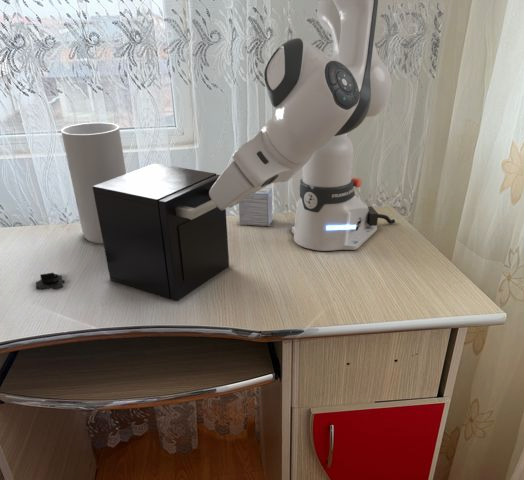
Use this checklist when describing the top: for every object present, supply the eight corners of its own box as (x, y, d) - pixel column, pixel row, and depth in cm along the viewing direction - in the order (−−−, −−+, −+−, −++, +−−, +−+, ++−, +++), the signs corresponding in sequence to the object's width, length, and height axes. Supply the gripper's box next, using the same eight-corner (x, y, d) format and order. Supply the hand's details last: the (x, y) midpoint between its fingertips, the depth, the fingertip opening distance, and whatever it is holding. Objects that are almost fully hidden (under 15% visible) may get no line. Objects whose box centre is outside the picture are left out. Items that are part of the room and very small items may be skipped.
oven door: (245, 270, 116) (242, 178, 105) (194, 306, 103) (184, 206, 92) (223, 265, 118) (217, 174, 107) (170, 299, 106) (158, 200, 94)
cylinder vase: (82, 247, 128) (59, 136, 114) (84, 228, 138) (63, 124, 124) (136, 241, 130) (119, 132, 116) (134, 223, 140) (118, 121, 126)
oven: (222, 265, 118) (216, 173, 107) (170, 299, 106) (157, 199, 94) (165, 250, 125) (155, 163, 114) (110, 281, 113) (92, 186, 101)
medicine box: (272, 220, 140) (272, 187, 135) (269, 227, 137) (268, 193, 132) (243, 218, 142) (242, 186, 137) (239, 225, 138) (237, 191, 133)
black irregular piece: (33, 270, 112) (61, 265, 114) (36, 280, 114) (63, 275, 115) (34, 282, 108) (62, 277, 109) (37, 292, 109) (65, 287, 111)
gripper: (295, 124, 95) (250, 173, 105) (230, 152, 81) (185, 205, 91) (317, 153, 95) (270, 199, 105) (256, 186, 81) (209, 235, 91)
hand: (231, 202), depth 98 cm, fingers closed
